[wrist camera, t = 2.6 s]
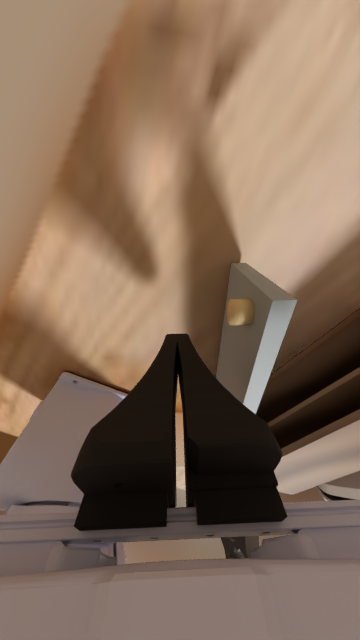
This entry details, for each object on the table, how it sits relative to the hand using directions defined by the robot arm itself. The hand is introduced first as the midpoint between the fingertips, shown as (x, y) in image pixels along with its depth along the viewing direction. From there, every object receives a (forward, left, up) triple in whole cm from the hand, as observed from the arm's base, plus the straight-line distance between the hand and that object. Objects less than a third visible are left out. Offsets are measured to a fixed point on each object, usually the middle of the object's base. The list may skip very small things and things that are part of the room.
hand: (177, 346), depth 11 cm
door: (+6, -2, -4) cm, 7 cm away
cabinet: (+17, 0, -4) cm, 17 cm away
